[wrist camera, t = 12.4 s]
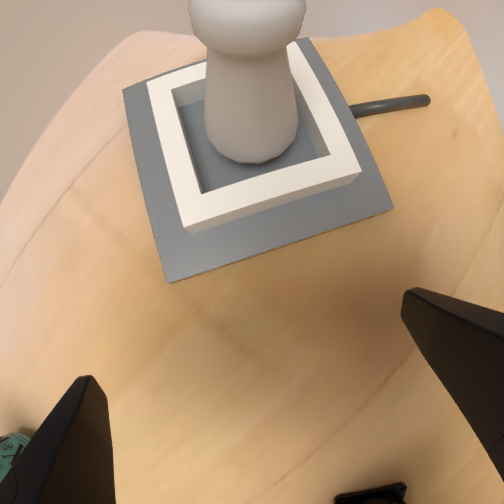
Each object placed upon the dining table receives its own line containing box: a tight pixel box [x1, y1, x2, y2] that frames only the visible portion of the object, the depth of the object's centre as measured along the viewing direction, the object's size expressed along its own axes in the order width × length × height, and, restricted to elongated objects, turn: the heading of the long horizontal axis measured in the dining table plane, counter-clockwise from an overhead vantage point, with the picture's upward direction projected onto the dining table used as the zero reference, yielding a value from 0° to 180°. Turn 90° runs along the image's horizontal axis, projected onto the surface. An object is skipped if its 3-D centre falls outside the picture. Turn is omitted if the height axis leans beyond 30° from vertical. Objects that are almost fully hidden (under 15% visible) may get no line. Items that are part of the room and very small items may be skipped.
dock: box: [122, 37, 431, 284], centre depth 20 cm, size 24×16×4 cm, turn 108°
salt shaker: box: [189, 0, 306, 164], centre depth 14 cm, size 6×6×13 cm
